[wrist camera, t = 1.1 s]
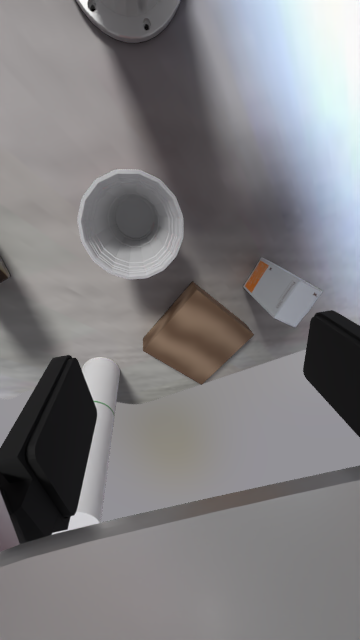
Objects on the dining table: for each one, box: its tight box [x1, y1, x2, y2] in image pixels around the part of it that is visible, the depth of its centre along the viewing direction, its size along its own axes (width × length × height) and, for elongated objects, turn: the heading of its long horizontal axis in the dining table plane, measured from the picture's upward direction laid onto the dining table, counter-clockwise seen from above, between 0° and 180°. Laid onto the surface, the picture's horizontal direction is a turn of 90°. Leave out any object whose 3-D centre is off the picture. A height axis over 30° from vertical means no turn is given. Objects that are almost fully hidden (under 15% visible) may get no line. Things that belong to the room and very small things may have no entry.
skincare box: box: [243, 257, 323, 327], centre depth 37 cm, size 6×4×12 cm
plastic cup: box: [77, 169, 183, 280], centre depth 30 cm, size 11×11×12 cm
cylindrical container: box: [52, 357, 120, 535], centre depth 36 cm, size 7×7×25 cm
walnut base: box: [143, 282, 254, 385], centre depth 44 cm, size 14×14×4 cm
